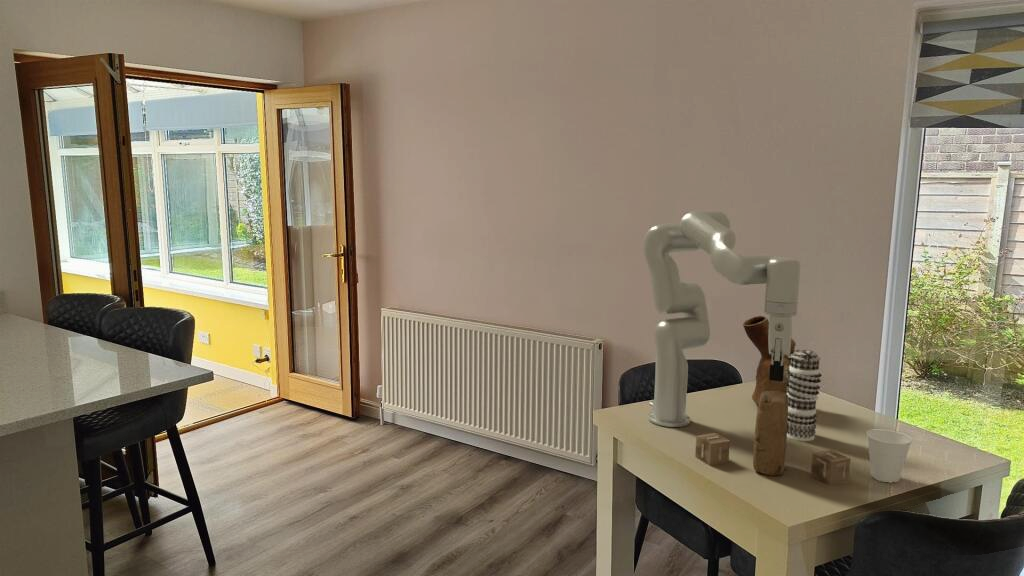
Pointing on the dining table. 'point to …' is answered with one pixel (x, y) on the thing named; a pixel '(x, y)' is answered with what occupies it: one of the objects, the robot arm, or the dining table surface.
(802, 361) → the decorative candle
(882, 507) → the dining table surface
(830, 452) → the walnut cube
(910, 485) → the dining table surface
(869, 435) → the cup
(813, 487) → the dining table surface
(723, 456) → the walnut cube
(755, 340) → the ceramic vessel
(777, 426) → the block
